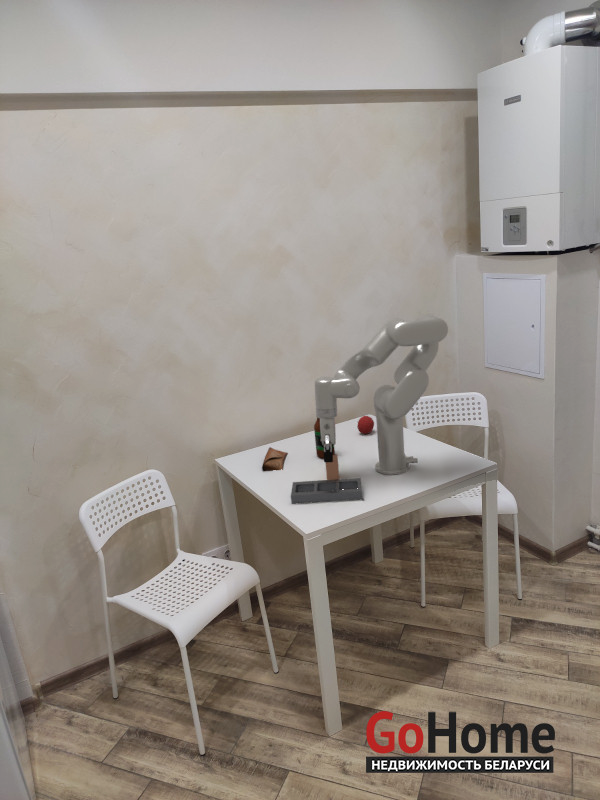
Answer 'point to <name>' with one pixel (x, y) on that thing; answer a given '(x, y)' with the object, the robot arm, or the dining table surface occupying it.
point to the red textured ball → (365, 424)
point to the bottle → (319, 440)
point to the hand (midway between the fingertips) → (328, 456)
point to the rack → (326, 490)
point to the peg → (332, 469)
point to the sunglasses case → (274, 460)
